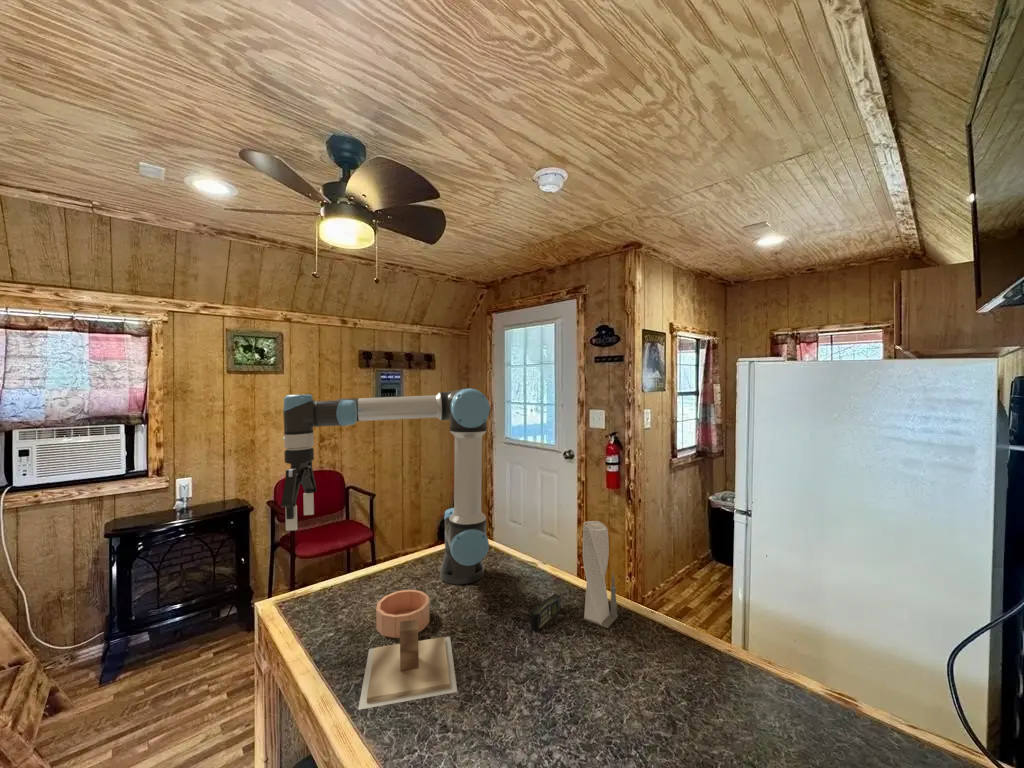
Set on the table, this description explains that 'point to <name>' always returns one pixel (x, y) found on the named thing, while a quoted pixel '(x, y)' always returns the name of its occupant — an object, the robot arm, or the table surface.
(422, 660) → the board
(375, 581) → the table surface
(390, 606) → the bowl
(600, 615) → the skyscraper
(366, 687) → the mat
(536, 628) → the mobile phone
